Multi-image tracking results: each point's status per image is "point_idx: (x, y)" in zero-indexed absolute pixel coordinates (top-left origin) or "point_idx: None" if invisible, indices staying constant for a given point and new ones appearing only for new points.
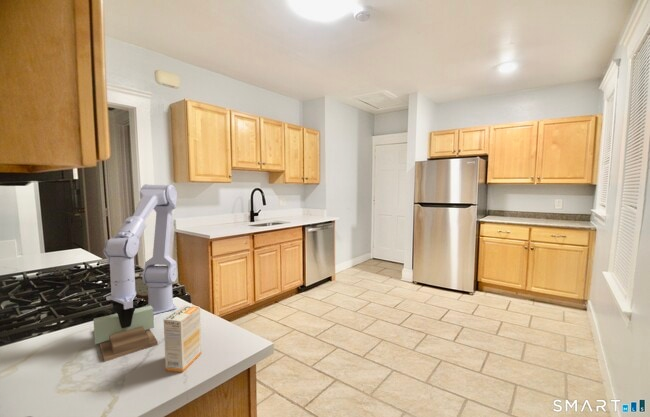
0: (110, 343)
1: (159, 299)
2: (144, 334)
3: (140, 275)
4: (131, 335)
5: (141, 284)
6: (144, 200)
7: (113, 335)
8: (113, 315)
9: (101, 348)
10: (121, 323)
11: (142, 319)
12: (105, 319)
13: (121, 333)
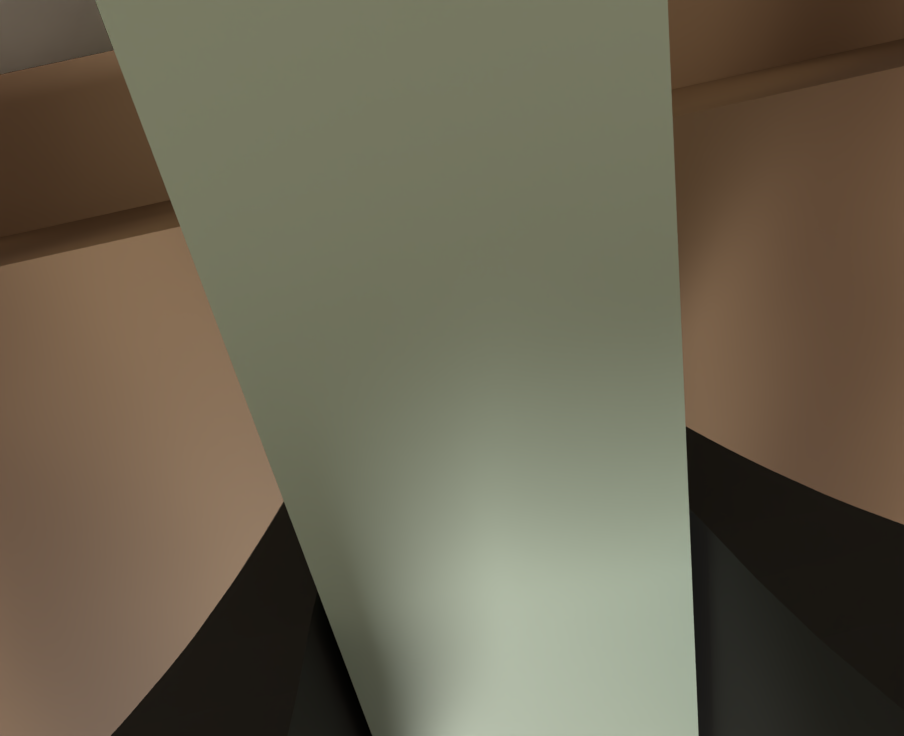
0: (109, 219)
1: None
2: (42, 724)
3: None
4: (64, 576)
5: None
6: None
7: (193, 296)
8: (552, 465)
9: (38, 66)
10: (272, 541)
11: None
12: (263, 261)
13: (228, 421)
